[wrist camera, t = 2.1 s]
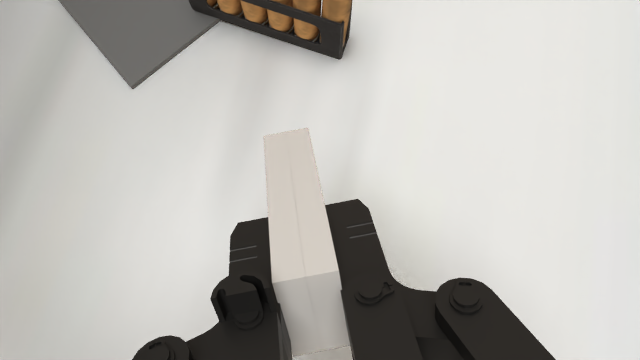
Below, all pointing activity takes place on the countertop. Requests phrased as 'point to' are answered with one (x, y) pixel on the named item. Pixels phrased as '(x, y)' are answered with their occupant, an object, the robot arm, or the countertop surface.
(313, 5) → the ammunition clip
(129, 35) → the rubber mat
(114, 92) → the countertop surface
